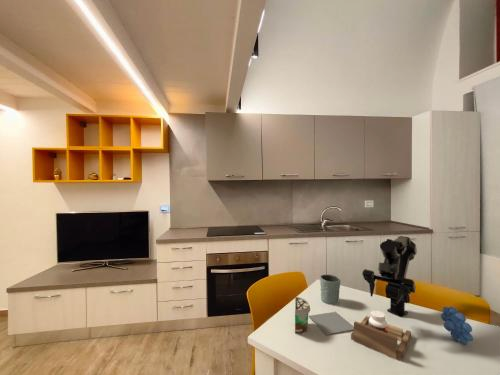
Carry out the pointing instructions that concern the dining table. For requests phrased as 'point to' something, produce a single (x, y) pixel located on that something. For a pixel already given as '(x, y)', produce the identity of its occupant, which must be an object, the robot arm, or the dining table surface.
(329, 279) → the grey-green rounded cylinder
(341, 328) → the slate mat
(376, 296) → the dining table surface
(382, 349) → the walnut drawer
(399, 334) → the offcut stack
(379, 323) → the pill bottle
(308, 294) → the dining table surface
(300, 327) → the food container
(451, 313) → the grapes
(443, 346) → the dining table surface
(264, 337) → the dining table surface
